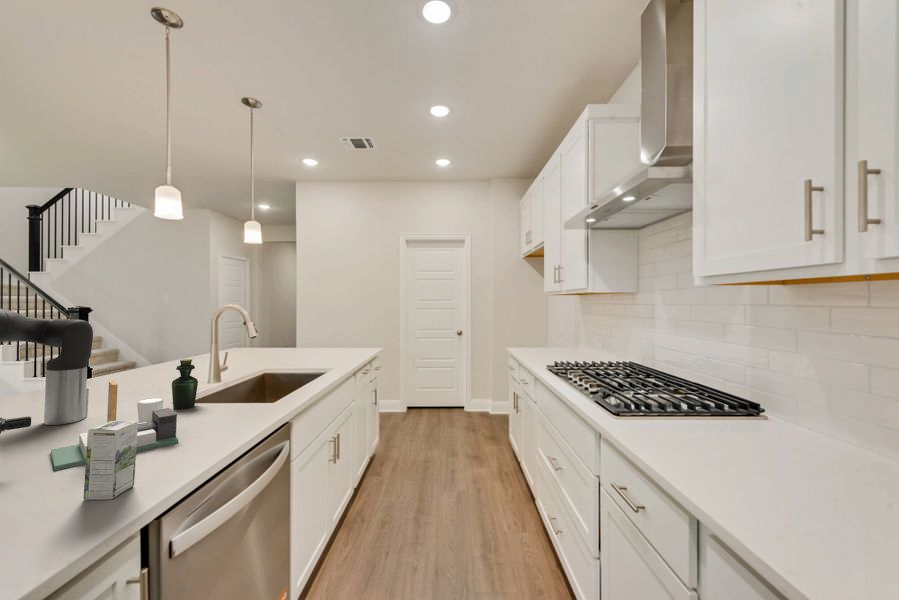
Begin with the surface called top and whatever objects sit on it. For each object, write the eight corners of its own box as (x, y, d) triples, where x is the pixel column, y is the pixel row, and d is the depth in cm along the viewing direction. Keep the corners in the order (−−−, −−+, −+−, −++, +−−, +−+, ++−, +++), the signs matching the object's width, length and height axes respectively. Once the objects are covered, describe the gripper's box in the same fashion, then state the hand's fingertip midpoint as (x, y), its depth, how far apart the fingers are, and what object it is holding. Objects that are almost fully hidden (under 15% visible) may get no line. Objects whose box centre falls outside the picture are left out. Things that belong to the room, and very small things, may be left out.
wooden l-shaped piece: (110, 436, 95) (112, 385, 95) (106, 430, 99) (108, 381, 99) (168, 425, 105) (170, 378, 105) (163, 420, 108) (165, 375, 109)
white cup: (131, 422, 118) (132, 401, 118) (155, 416, 124) (156, 396, 124) (144, 425, 115) (145, 404, 115) (167, 419, 122) (168, 399, 122)
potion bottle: (196, 408, 134) (198, 360, 135) (169, 411, 130) (171, 362, 130) (197, 403, 141) (199, 357, 141) (171, 405, 137) (173, 358, 137)
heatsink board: (54, 470, 85) (55, 438, 85) (51, 453, 94) (52, 424, 94) (178, 442, 103) (179, 416, 103) (165, 430, 112) (166, 406, 112)
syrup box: (107, 486, 79) (109, 420, 79) (135, 486, 79) (138, 420, 79) (82, 500, 73) (85, 429, 73) (113, 500, 73) (116, 429, 74)
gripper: (-107, 430, 68) (32, 411, 82) (-94, 414, 77) (31, 400, 90) (-109, 469, 68) (30, 444, 82) (-95, 450, 77) (29, 430, 90)
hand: (30, 421), depth 86 cm, fingers closed
